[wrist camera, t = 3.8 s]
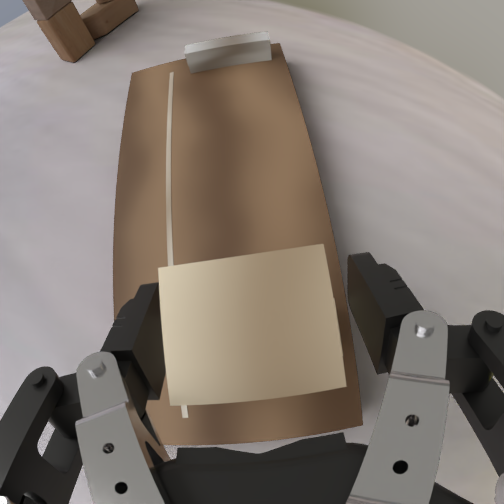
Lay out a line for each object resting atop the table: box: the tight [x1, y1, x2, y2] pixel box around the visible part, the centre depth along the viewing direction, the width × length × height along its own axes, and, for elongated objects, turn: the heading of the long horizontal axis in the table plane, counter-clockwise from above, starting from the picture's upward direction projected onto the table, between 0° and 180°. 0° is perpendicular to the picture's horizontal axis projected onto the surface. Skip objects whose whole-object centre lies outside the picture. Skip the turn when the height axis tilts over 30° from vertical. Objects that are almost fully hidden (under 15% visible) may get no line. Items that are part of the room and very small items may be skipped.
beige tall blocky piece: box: [158, 244, 347, 406], centre depth 11 cm, size 7×3×9 cm, turn 97°
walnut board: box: [113, 32, 363, 445], centre depth 17 cm, size 12×26×4 cm, turn 7°
